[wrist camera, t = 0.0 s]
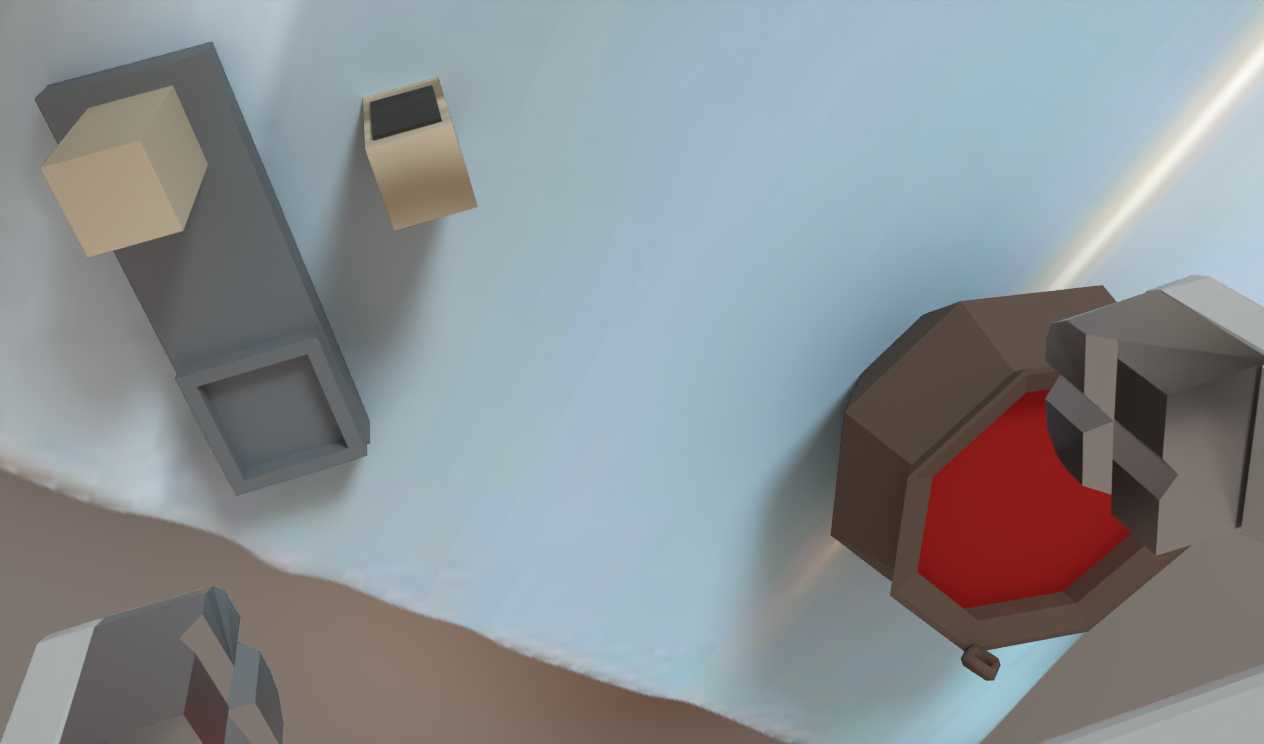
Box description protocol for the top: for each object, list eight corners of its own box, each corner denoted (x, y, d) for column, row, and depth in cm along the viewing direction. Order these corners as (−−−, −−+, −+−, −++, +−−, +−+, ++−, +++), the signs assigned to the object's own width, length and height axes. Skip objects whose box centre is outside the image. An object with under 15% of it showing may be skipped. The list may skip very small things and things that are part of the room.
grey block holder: (47, 85, 51) (-26, 158, 41) (212, 41, 51) (179, 102, 42) (238, 460, 63) (217, 586, 53) (369, 421, 63) (372, 537, 53)
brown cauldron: (885, 186, 64) (1034, 299, 50) (1168, 287, 72) (1361, 407, 59) (726, 504, 73) (815, 674, 59) (994, 559, 82) (1126, 719, 68)
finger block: (361, 93, 54) (363, 145, 46) (437, 73, 54) (451, 121, 47) (388, 169, 56) (394, 230, 49) (460, 149, 57) (477, 206, 49)
